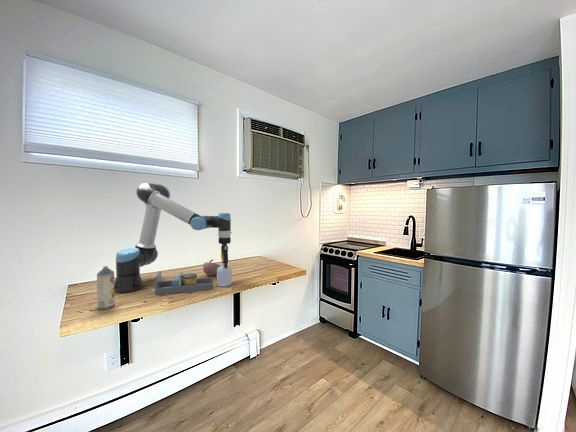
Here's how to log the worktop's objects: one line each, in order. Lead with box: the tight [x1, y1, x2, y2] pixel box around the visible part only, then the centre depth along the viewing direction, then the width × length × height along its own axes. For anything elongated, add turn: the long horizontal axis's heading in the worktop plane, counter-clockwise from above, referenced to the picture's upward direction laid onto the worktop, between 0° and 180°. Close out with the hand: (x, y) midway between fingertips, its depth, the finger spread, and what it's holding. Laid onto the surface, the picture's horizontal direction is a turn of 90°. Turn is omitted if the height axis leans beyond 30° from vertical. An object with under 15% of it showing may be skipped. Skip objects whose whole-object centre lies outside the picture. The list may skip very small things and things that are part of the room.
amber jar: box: [182, 272, 198, 286], centre depth 142 cm, size 8×8×8 cm
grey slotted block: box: [154, 270, 214, 296], centre depth 142 cm, size 31×13×10 cm, turn 110°
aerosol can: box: [96, 265, 116, 310], centre depth 115 cm, size 7×7×20 cm
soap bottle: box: [216, 246, 233, 288], centre depth 149 cm, size 9×9×25 cm
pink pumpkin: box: [202, 259, 221, 277], centre depth 168 cm, size 12×12×12 cm
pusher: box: [171, 270, 183, 287], centre depth 140 cm, size 5×10×9 cm, turn 20°
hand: (224, 270), depth 149 cm, fingers open, 13 cm apart
